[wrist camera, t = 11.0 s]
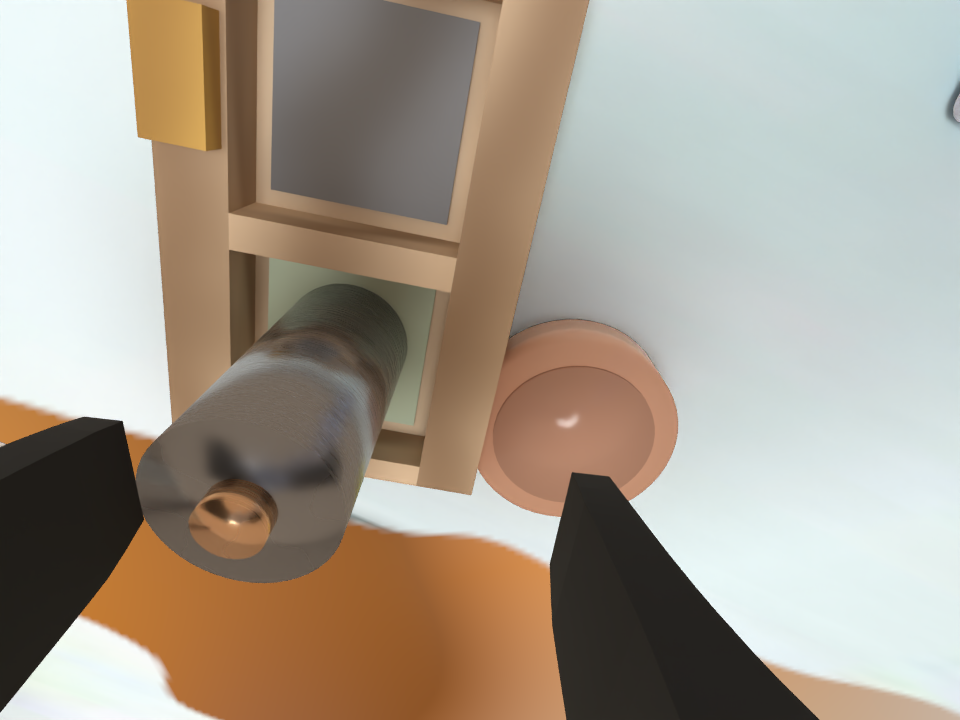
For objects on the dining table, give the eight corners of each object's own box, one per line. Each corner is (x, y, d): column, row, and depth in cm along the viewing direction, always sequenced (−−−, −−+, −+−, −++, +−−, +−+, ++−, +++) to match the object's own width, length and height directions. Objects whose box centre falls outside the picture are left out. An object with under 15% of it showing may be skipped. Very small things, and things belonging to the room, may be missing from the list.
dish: (689, 340, 18) (712, 367, 16) (626, 495, 21) (639, 533, 19) (492, 302, 18) (492, 325, 16) (456, 465, 21) (453, 502, 19)
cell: (410, 290, 16) (334, 451, 9) (405, 400, 18) (339, 615, 10) (282, 277, 16) (92, 428, 9) (290, 388, 18) (137, 597, 10)
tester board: (578, -8, 14) (603, -43, 11) (474, 447, 20) (470, 511, 17) (199, -97, 13) (105, -162, 10) (214, 401, 20) (159, 459, 17)
